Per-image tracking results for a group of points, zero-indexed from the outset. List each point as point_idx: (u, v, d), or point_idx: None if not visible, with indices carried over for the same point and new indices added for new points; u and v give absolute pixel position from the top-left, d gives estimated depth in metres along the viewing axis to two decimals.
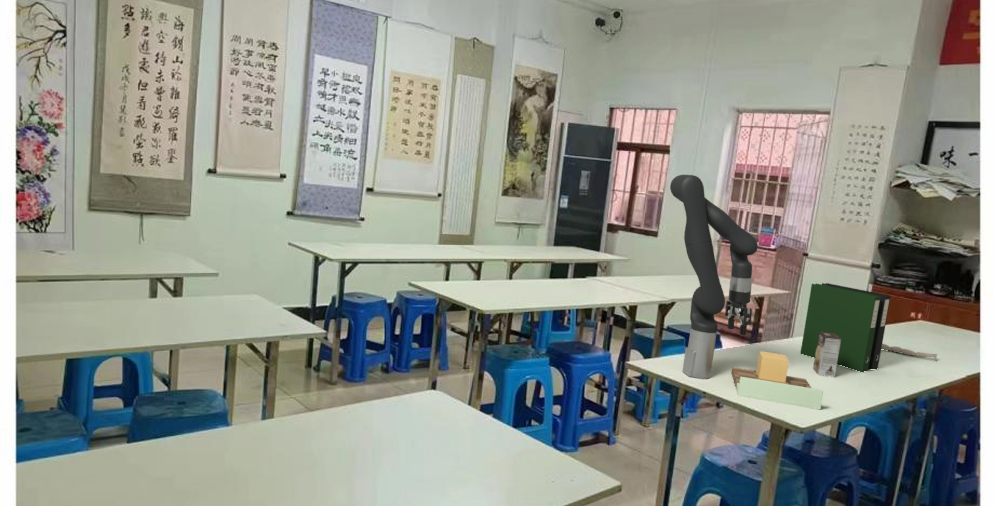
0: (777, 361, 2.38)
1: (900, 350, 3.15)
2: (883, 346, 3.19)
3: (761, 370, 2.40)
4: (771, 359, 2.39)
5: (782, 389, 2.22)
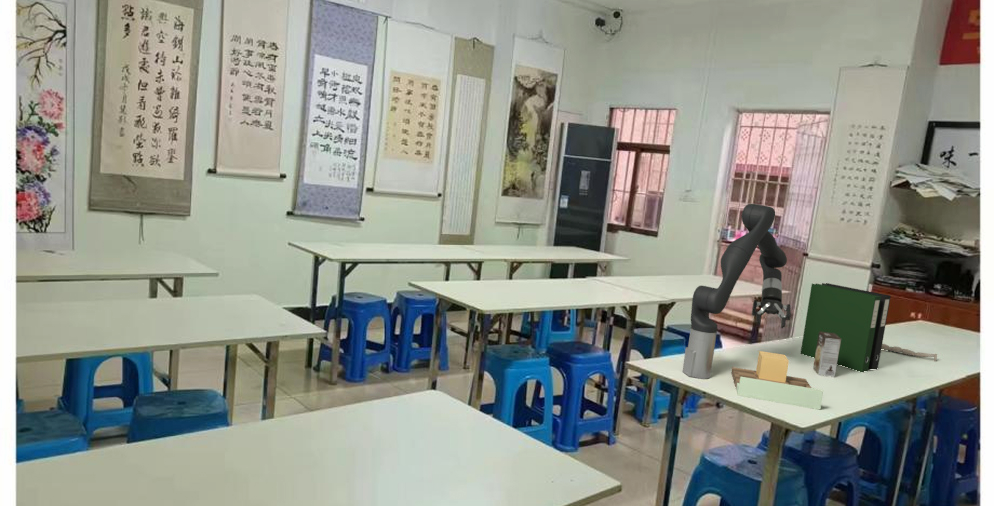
0: (777, 361, 2.38)
1: (900, 350, 3.15)
2: (883, 346, 3.19)
3: (761, 370, 2.40)
4: (771, 359, 2.39)
5: (782, 389, 2.22)
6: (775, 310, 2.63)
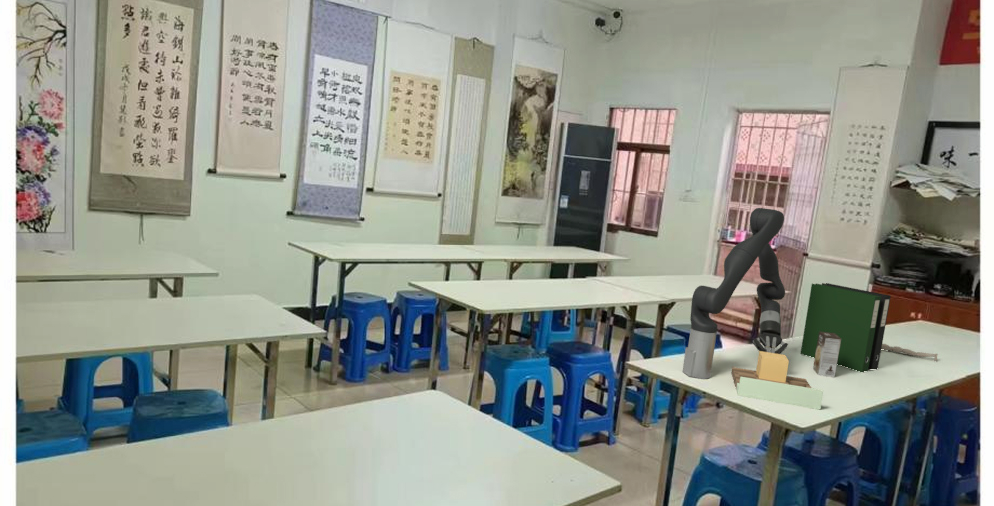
0: (777, 361, 2.38)
1: (901, 350, 3.15)
2: (884, 346, 3.19)
3: (761, 370, 2.40)
4: (771, 359, 2.39)
5: (782, 389, 2.22)
6: (770, 343, 2.52)
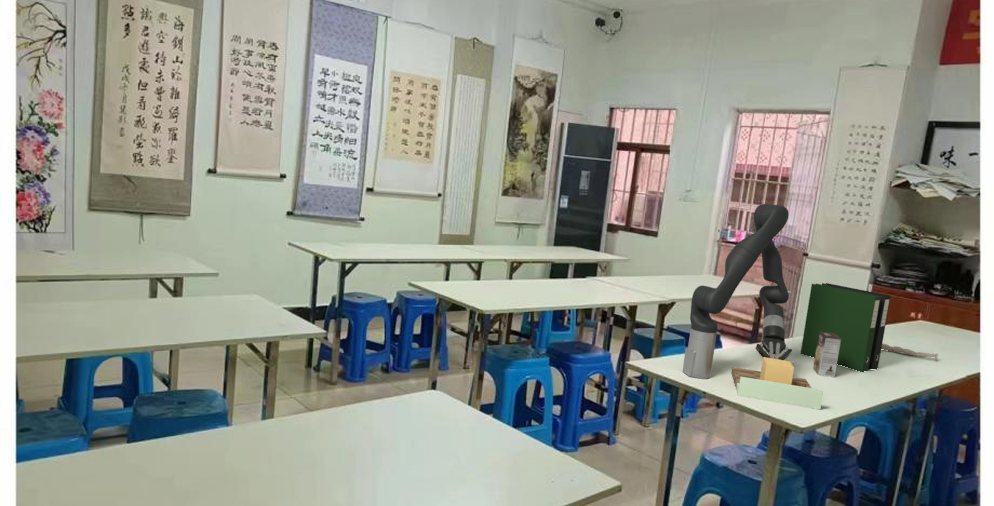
0: (781, 368, 2.30)
1: (901, 350, 3.15)
2: (884, 346, 3.19)
3: (765, 377, 2.31)
4: (776, 366, 2.30)
5: (782, 389, 2.22)
6: (773, 348, 2.44)
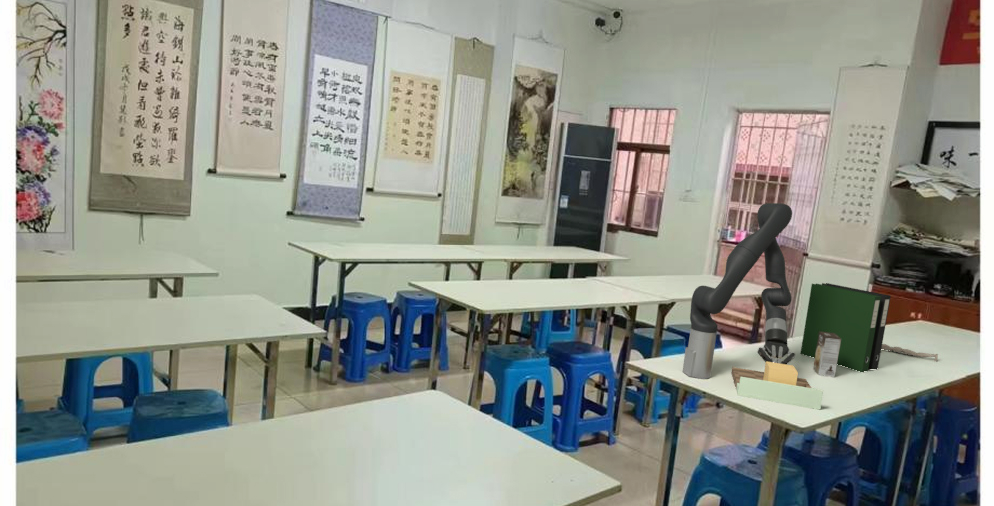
0: (785, 373, 2.24)
1: (901, 350, 3.15)
2: (884, 346, 3.19)
3: None
4: (779, 370, 2.24)
5: (782, 389, 2.22)
6: (776, 352, 2.38)
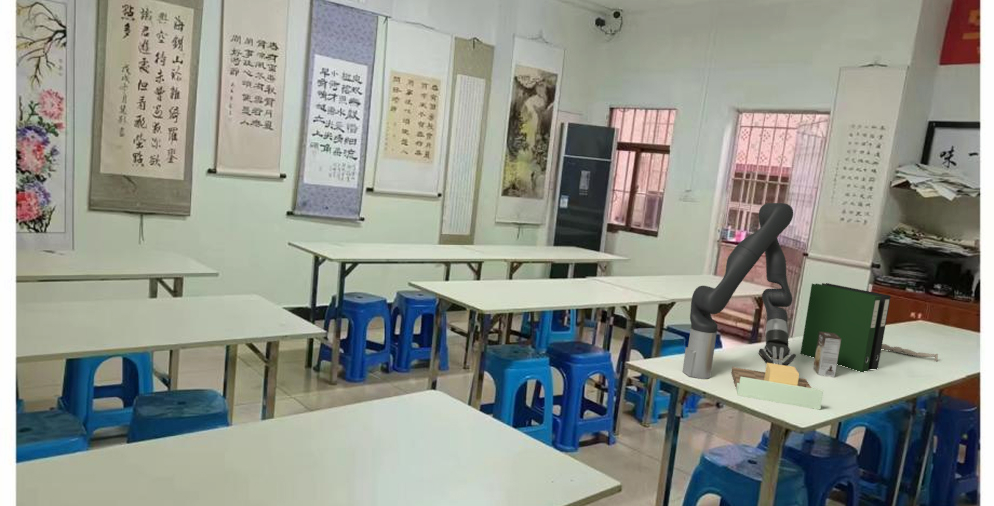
0: (786, 374, 2.22)
1: (901, 350, 3.15)
2: (884, 346, 3.19)
3: None
4: (780, 372, 2.23)
5: (782, 389, 2.22)
6: (777, 353, 2.36)
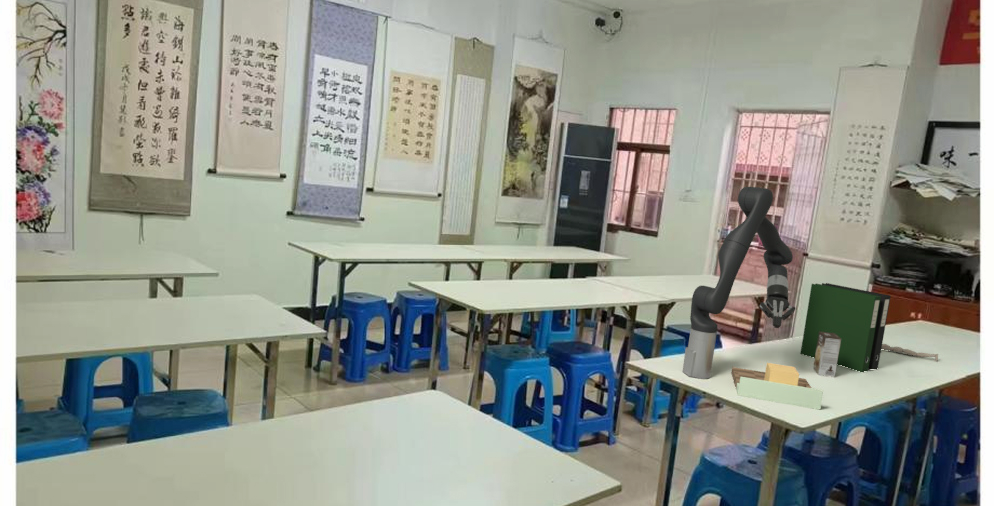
0: (786, 374, 2.22)
1: (901, 350, 3.15)
2: (884, 346, 3.19)
3: None
4: (780, 372, 2.23)
5: (782, 389, 2.22)
6: (777, 306, 2.48)
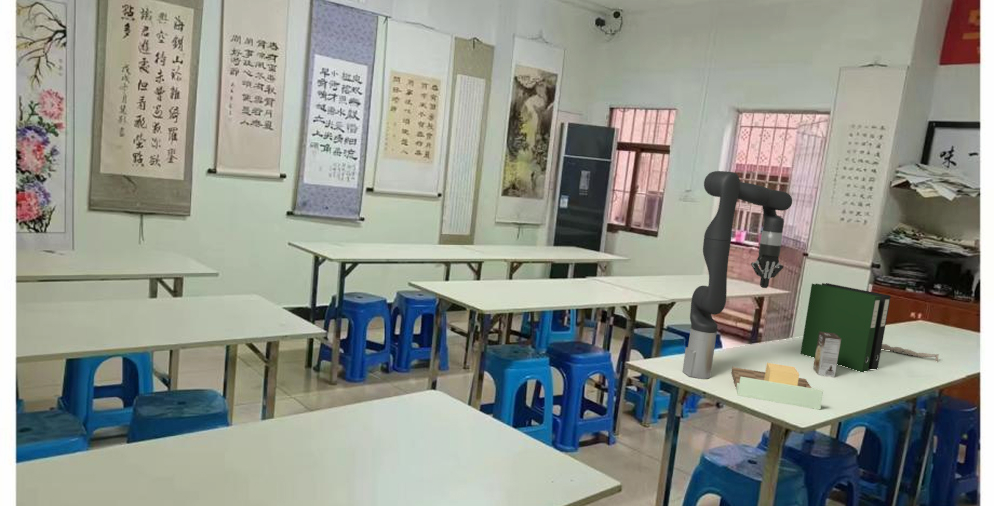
0: (786, 374, 2.22)
1: (902, 350, 3.15)
2: (885, 346, 3.19)
3: None
4: (780, 372, 2.23)
5: (782, 389, 2.22)
6: (768, 267, 2.54)
